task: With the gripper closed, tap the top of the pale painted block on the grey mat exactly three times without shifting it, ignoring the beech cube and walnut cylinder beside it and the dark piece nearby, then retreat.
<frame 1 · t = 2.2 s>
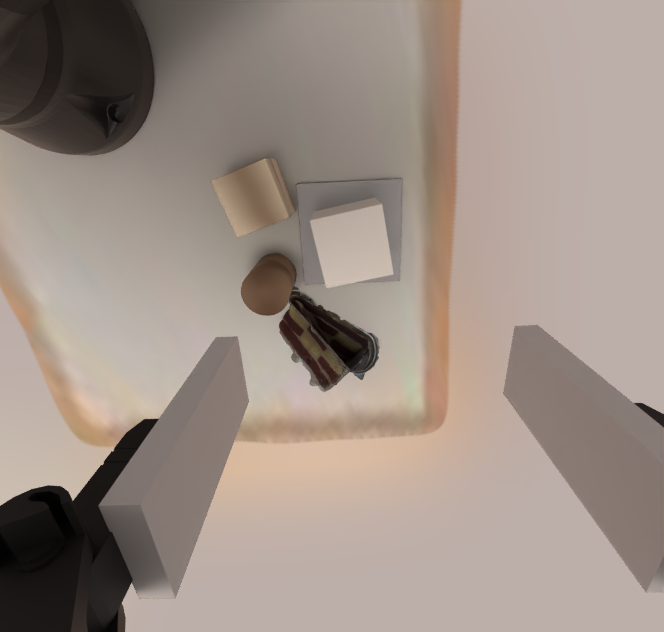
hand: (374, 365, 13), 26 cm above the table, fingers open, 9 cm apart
walnut cylinder: (275, 274, 38), on the table
plain block: (350, 235, 35), point 1 cm above the table, touching mat
beech cube: (262, 194, 35), on the table
mat: (350, 233, 36), on the table
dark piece: (318, 335, 41), on the table
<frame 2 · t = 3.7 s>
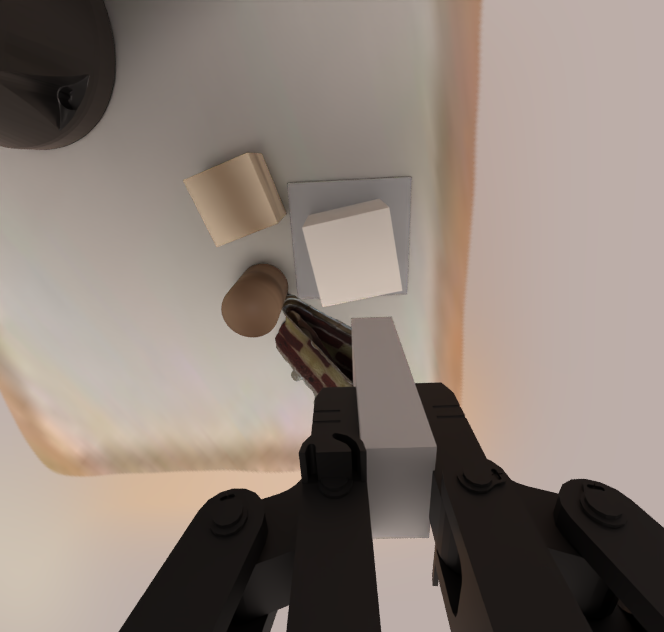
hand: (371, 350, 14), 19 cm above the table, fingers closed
walnut cylinder: (264, 286, 33), on the table
plain block: (350, 242, 31), point 1 cm above the table, touching mat
beech cube: (247, 195, 30), on the table
mat: (350, 240, 31), on the table
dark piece: (321, 348, 36), on the table
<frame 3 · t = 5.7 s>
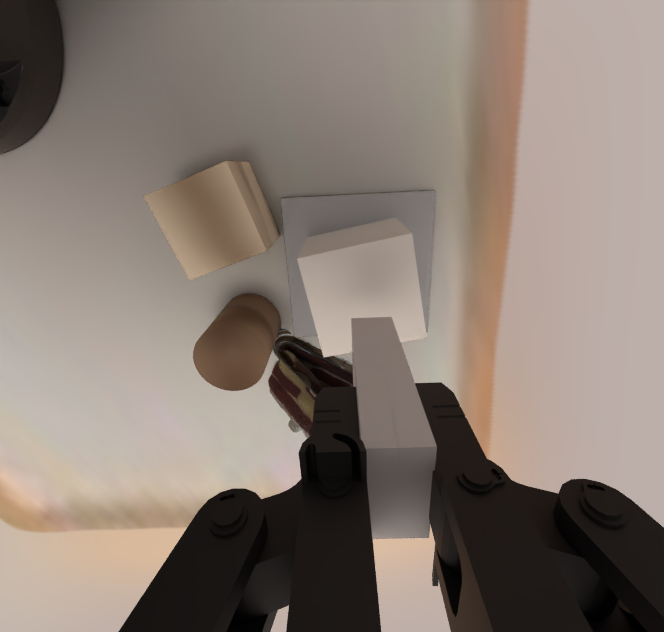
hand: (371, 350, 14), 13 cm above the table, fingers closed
walnut cylinder: (252, 320, 27), on the table
plain block: (359, 270, 25), point 1 cm above the table, touching mat
beech cube: (232, 213, 24), on the table
mat: (358, 267, 25), on the table
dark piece: (323, 389, 30), on the table
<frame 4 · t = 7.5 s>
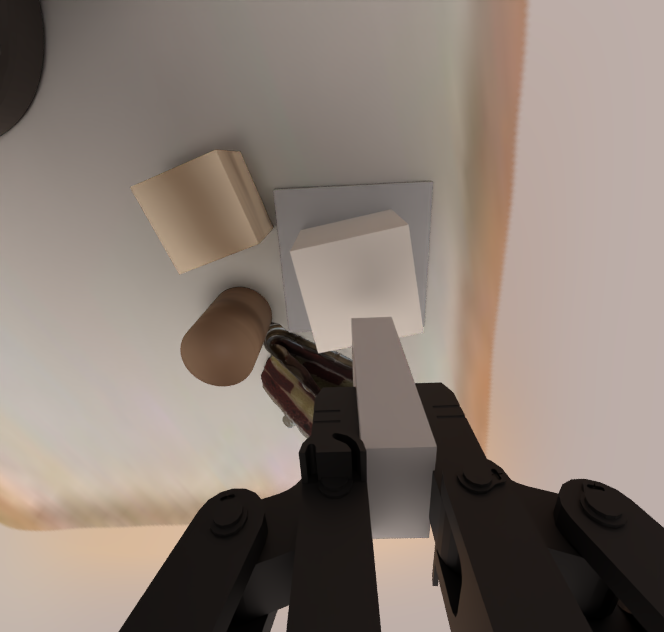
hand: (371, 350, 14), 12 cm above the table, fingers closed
walnut cylinder: (242, 314, 27), on the table
plain block: (354, 263, 24), point 1 cm above the table, touching mat
beech cube: (223, 205, 23), on the table
mat: (354, 261, 25), on the table
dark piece: (317, 384, 29), on the table
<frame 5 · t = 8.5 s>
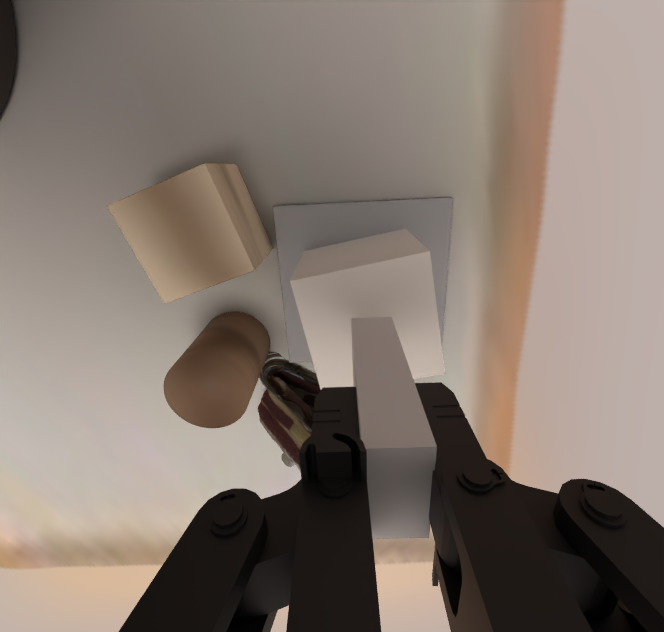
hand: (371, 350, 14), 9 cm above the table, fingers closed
walnut cylinder: (237, 341, 24), on the table
plain block: (363, 288, 22), point 1 cm above the table, touching mat
beech cube: (217, 223, 21), on the table
mat: (363, 285, 22), on the table
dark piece: (320, 417, 27), on the table
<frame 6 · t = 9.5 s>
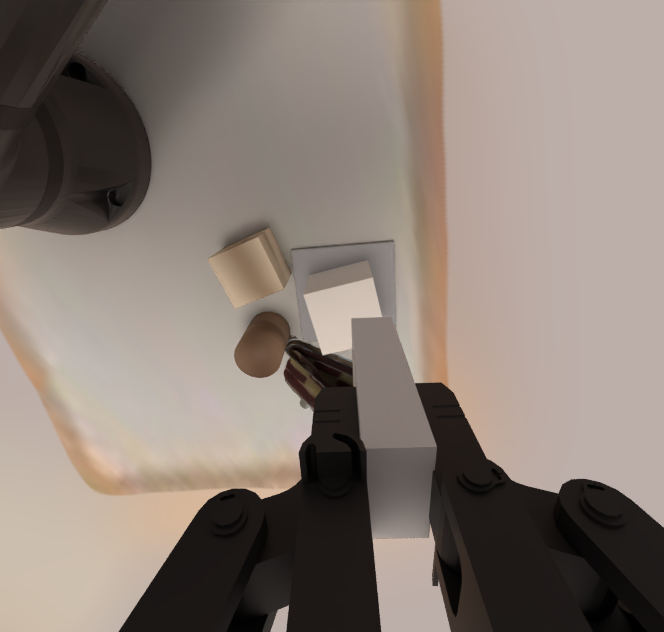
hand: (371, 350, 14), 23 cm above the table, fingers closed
walnut cylinder: (269, 330, 39), on the table
plain block: (345, 295, 36), point 1 cm above the table, touching mat
beech cube: (258, 260, 36), on the table
mat: (345, 293, 37), on the table
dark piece: (323, 377, 41), on the table
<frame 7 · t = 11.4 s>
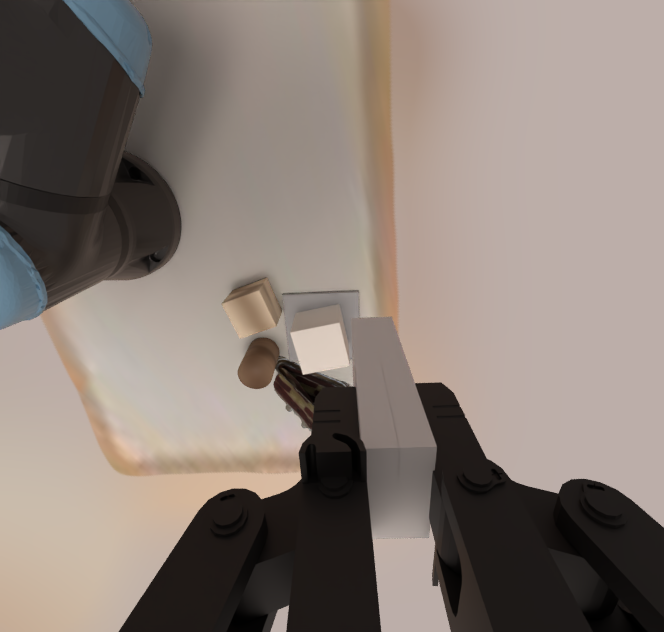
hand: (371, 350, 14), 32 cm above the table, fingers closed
walnut cylinder: (264, 351, 51), on the table
plain block: (322, 328, 48), point 1 cm above the table, touching mat
beech cube: (257, 300, 48), on the table
mat: (322, 326, 49), on the table
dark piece: (304, 387, 54), on the table
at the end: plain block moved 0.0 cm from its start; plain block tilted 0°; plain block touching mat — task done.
